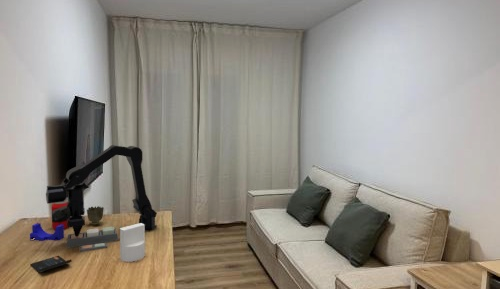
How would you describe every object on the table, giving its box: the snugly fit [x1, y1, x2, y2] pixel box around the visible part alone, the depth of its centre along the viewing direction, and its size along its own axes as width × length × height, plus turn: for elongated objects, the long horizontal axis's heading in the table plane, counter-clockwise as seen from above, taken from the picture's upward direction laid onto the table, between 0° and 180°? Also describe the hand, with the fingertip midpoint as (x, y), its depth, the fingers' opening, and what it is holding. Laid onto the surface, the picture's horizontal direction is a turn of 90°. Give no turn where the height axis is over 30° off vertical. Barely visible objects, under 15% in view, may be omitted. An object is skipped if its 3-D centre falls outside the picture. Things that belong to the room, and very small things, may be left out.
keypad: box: [65, 228, 120, 249], centre depth 140 cm, size 20×8×3 cm, turn 117°
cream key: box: [86, 228, 99, 237], centre depth 140 cm, size 4×4×2 cm
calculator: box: [29, 254, 72, 274], centre depth 118 cm, size 9×12×3 cm
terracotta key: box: [71, 234, 83, 239], centre depth 137 cm, size 4×4×2 cm
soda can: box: [50, 200, 70, 231], centre depth 154 cm, size 8×8×12 cm
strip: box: [79, 242, 108, 253], centre depth 133 cm, size 10×3×1 cm, turn 117°
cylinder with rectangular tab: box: [119, 222, 146, 263], centre depth 127 cm, size 9×9×12 cm
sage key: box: [101, 226, 115, 235], centre depth 143 cm, size 4×4×2 cm
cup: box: [86, 205, 104, 226], centre depth 159 cm, size 8×7×8 cm
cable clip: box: [29, 222, 65, 242], centre depth 140 cm, size 12×4×6 cm, turn 85°
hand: (76, 236), depth 137 cm, fingers closed, pressing on terracotta key
